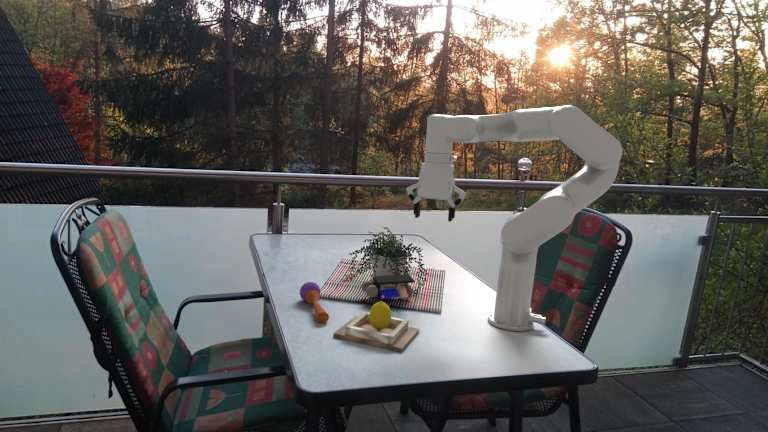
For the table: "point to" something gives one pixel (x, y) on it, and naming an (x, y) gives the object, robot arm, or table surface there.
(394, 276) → the figurine character
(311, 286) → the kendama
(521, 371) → the table surface
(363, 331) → the jig board
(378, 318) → the lemon
